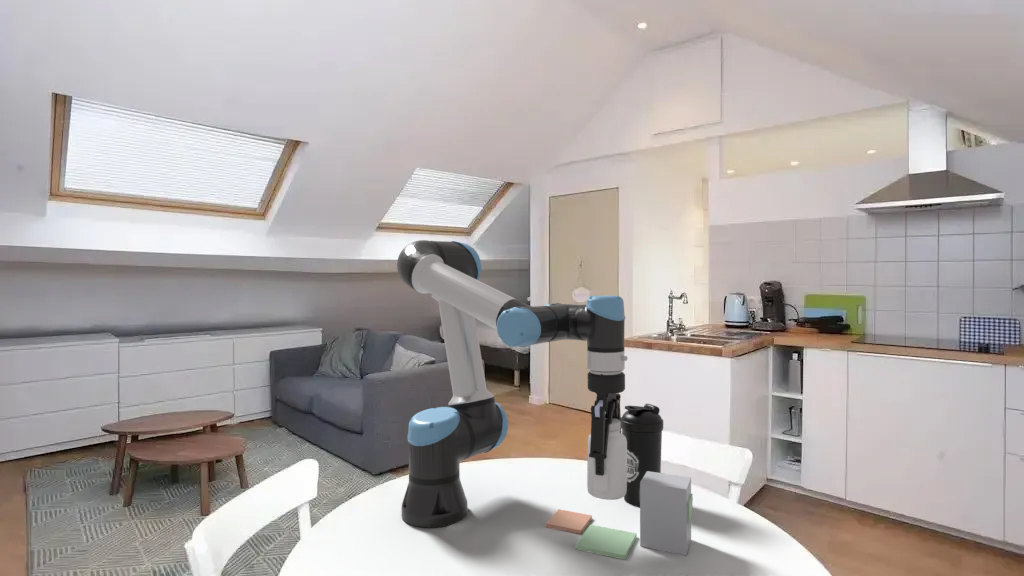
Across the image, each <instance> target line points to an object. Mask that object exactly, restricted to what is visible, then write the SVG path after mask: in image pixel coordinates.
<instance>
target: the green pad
mask: <svg viewBox="0 0 1024 576" xmlns="http://www.w3.org/2000/svg"><path fill="white" fill-rule="evenodd" d="M637 534H638V533H637V532H631V531H627V530H623V529H622V530H621V529H616V528H611V527H606V526H601V525H595V524H590V523H589V526H588V527H587V528H586V529H585V531H584V532H583V534H582V536H580V539H579V540H578V541H577V542H576V543H575V550H577V551H584V552H588V553H593V554H597V555H601V556H602V555H603V556H607V557H610V558H611V557H612V558H616V559H620V560H626V558H627V557H628V556H629V555H628V554H629V553H630V551H631V549H632V547H633V545H634V543H635V541H636V539H637Z"/></svg>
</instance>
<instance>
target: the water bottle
mask: <svg viewBox="0 0 1024 576" xmlns="http://www.w3.org/2000/svg"><path fill="white" fill-rule="evenodd" d="M624 409H625V410H626V411H625V412H624V413H623V414H622V415H621V433H622V434H623V435H624V436H625V437H626V440H627V490H626V495H625V496H624V497H623V500H624V501H625V503H626V504H628V505H630V506H634V507H638V508H640V501H639V489H640V482H641V480H642V478H643V477H644V475H645V474H646V472H647V471H650V472H657V473H662V471H661V470H662V441H663V440H662V437H663V433H662V432H663V431H664V419H663V418H662V416H661V415H660V411H661V410H660V407H659V406H657V405H654V404H651V403H645V404H644V405H643V406H639V405H638V406H637V405H626V406H624Z"/></svg>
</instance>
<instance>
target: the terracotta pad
mask: <svg viewBox="0 0 1024 576" xmlns="http://www.w3.org/2000/svg"><path fill="white" fill-rule="evenodd" d="M592 520H593V515H592V514H586V513H583V512H582V513H580V512H577V511H576V512H575V511H569V510H565V509H558V510H557V511H555V513H554V514H553V515H552V516H551V517H550V518H549V519H548V520H547V522H546V523H545V528H549V529H554V530H559V531H564V532H569V533H573V534H578V535H582V533H584V532H585V531H584V530H586V529H587V528H588V527H587V526H588V525H590V522H591V521H592Z"/></svg>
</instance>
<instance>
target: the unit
mask: <svg viewBox="0 0 1024 576" xmlns="http://www.w3.org/2000/svg"><path fill="white" fill-rule="evenodd" d="M693 496H694V495H693V493H692V477H690V476H683V475H677V474H670V473H662V472H661V473H657V472H650V471H647V472H646V474H645V475H644V477H643V478H642V480H641V482H640V489H639V501H640V507H639V546H640V547H643V548H648V549H653V550H657V551H658V550H659V551H663V552H668V553H673V554H679V555H683V556H687V554H688V552H689V548H690V545H691V541H692V516H693V502H694V501H693Z"/></svg>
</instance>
